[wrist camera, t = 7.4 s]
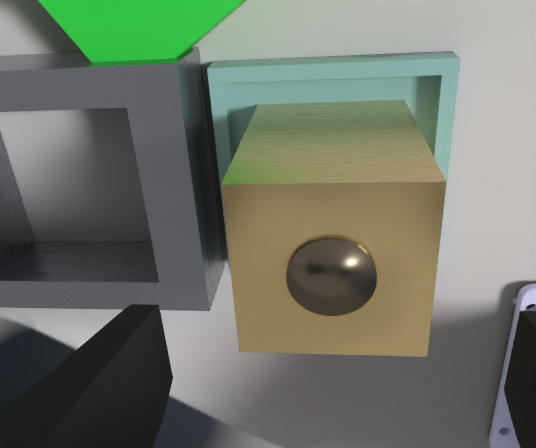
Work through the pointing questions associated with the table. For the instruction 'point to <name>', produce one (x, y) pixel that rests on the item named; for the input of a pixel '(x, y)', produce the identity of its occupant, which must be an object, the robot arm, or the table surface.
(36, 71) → the grey slotted block
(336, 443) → the table surface
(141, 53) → the mechanical part
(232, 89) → the tray
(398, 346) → the block
